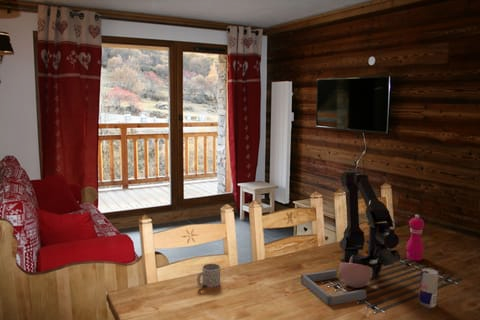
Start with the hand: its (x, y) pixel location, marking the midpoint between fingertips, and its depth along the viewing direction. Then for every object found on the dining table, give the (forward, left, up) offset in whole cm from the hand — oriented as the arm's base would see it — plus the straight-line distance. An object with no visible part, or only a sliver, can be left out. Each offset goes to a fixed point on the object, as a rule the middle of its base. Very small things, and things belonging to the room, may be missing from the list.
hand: (374, 278), depth 157 cm
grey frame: (0, -18, -2) cm, 18 cm away
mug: (-19, -61, -2) cm, 64 cm away
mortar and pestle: (0, -9, -2) cm, 9 cm away
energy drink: (+20, +6, -2) cm, 21 cm away
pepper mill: (-15, +33, -2) cm, 37 cm away
